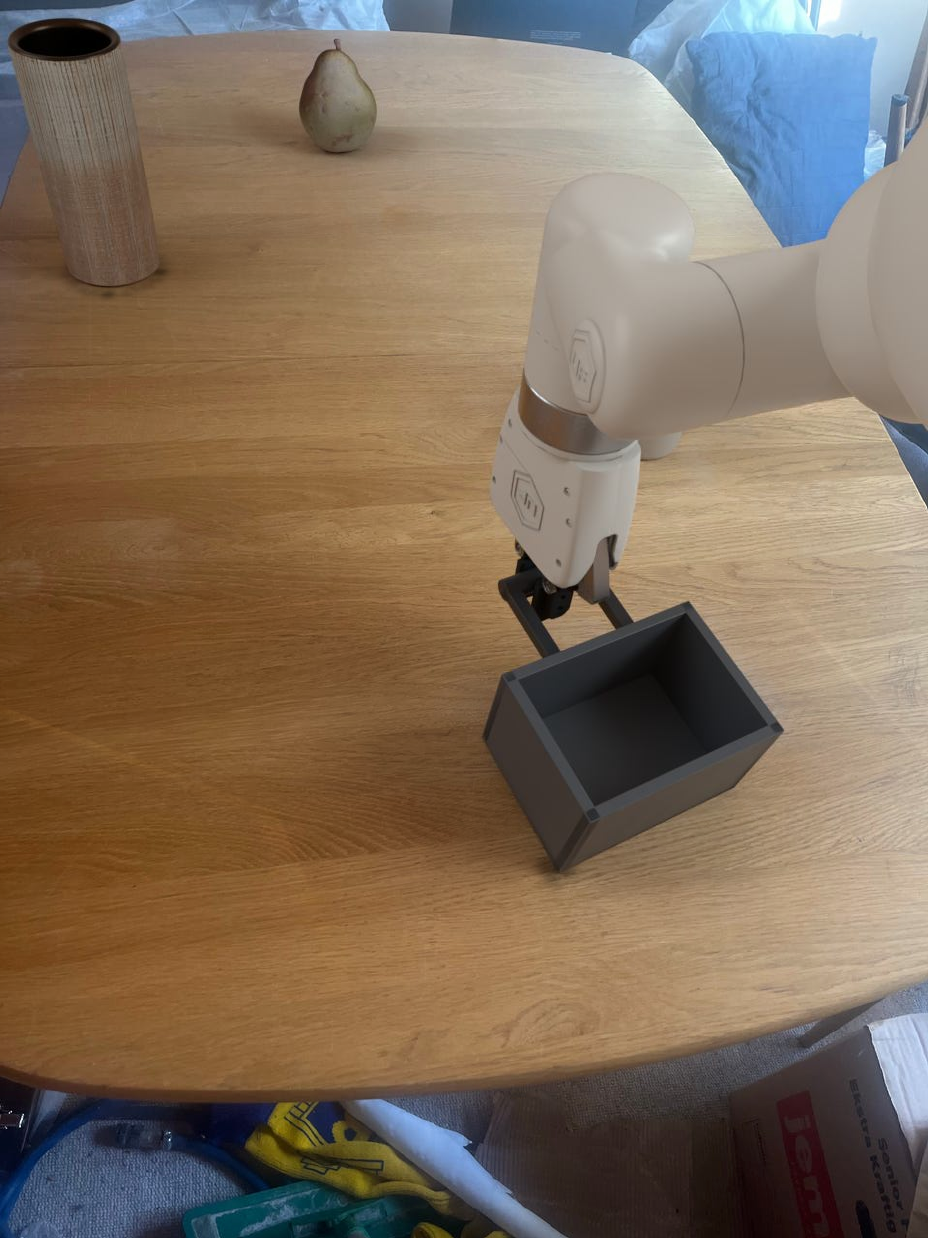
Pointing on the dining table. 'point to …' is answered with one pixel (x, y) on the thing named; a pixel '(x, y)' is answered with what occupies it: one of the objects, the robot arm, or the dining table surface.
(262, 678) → the dining table surface
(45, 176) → the planter
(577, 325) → the robot arm
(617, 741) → the grey tool caddy
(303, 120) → the fruit
